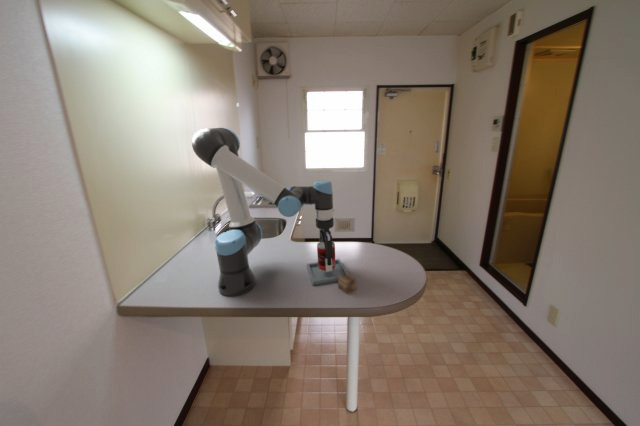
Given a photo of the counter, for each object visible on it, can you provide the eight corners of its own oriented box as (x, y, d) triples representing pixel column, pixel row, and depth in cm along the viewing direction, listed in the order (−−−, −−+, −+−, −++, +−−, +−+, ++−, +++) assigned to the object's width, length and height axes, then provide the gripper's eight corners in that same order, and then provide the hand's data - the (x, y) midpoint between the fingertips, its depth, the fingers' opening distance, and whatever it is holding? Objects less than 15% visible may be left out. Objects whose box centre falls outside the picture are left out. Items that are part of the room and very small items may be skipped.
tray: (312, 285, 114) (312, 281, 114) (306, 267, 129) (306, 263, 129) (349, 279, 117) (349, 275, 117) (339, 262, 132) (339, 259, 132)
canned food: (335, 262, 126) (335, 240, 122) (335, 271, 118) (334, 247, 115) (319, 262, 127) (318, 240, 123) (317, 271, 119) (316, 247, 116)
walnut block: (346, 294, 108) (345, 282, 106) (338, 288, 112) (338, 277, 110) (355, 289, 110) (355, 278, 109) (348, 284, 114) (348, 273, 113)
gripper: (339, 224, 106) (341, 276, 113) (327, 210, 126) (329, 255, 133) (320, 227, 105) (323, 279, 112) (311, 211, 124) (314, 257, 131)
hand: (326, 266), depth 122 cm, fingers closed on canned food, 8 cm apart
